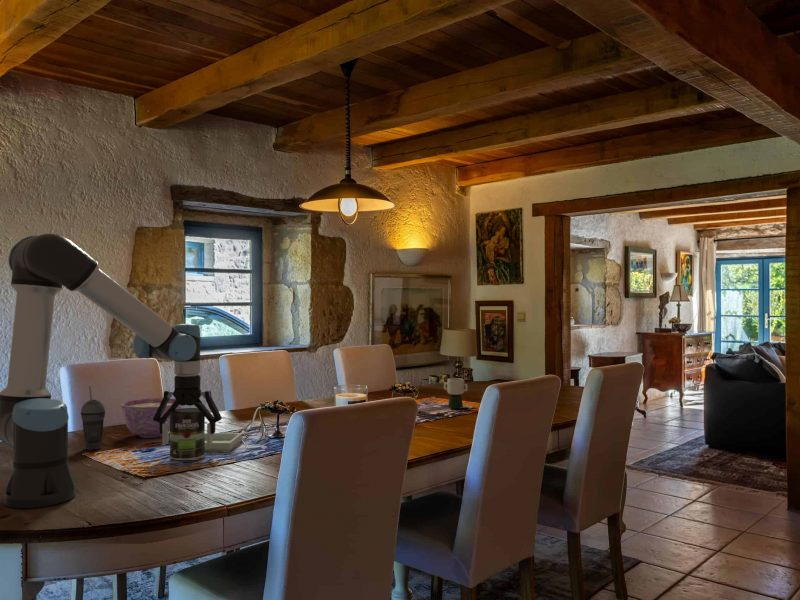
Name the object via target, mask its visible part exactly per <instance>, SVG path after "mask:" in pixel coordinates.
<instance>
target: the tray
mask: <svg viewBox="0 0 800 600" xmlns="http://www.w3.org/2000/svg"><path fill="white" fill-rule="evenodd" d="M242 442H243V433H241V432H240V433H239V432H238V433H236V432H235V433H234V432H233V433H232V432H231V433H230V432H227V433H226V432H215V433H214V434H212V444H211V445H207V432H205V453H214V452H213V451H229V452H228V453H231V452H232V451H233V450H234V449H235V448H236V447H237V445H238V444H239V443H240V444H241V443H242ZM240 444H239V445H240ZM239 445H238V446H239ZM232 449H233V450H232ZM231 450H232V451H231ZM230 451H231V452H230Z"/></svg>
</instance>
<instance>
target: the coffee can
mask: <svg viewBox="0 0 800 600" xmlns="http://www.w3.org/2000/svg"><path fill="white" fill-rule="evenodd" d="M205 422H206V417H205V416H204V415H203V412H200V410H199V409H198V408H197V407H183V408H180V409H175V410H174V411H170V431H169V435H170V436H169V459H170V458H171V459H170V460H172V459H174V460H173V461H177V460H188V461H194V460H195V459H196V460H199V458H200V459H202V457H203V458H204V457H205V456H206V455H205V454H206V452H205V433H206V432H205V431H206V429H205V426H206V423H205Z"/></svg>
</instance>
